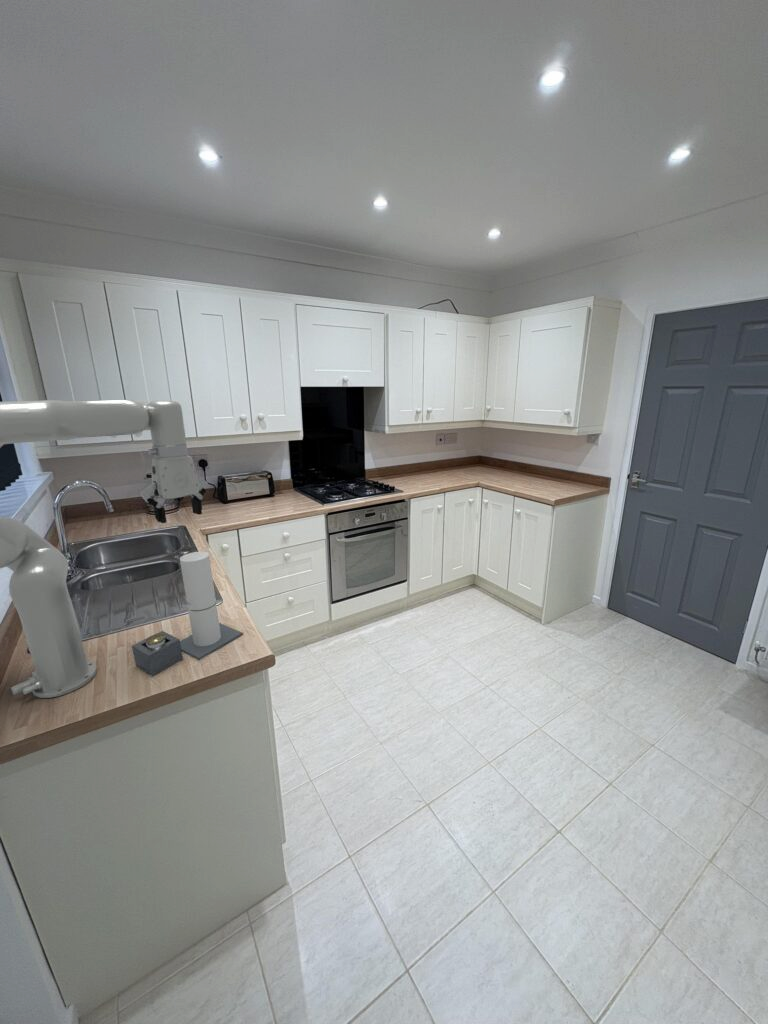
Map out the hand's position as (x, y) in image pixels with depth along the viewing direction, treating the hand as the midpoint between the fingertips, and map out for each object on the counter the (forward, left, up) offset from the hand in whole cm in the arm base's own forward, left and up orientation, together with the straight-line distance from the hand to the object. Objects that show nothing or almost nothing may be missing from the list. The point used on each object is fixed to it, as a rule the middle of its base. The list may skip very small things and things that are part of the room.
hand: (180, 517), depth 105 cm
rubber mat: (+1, -3, -36) cm, 36 cm away
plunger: (-12, -1, -35) cm, 37 cm away
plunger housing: (-12, -1, -36) cm, 38 cm away
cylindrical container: (+1, -2, -36) cm, 36 cm away
